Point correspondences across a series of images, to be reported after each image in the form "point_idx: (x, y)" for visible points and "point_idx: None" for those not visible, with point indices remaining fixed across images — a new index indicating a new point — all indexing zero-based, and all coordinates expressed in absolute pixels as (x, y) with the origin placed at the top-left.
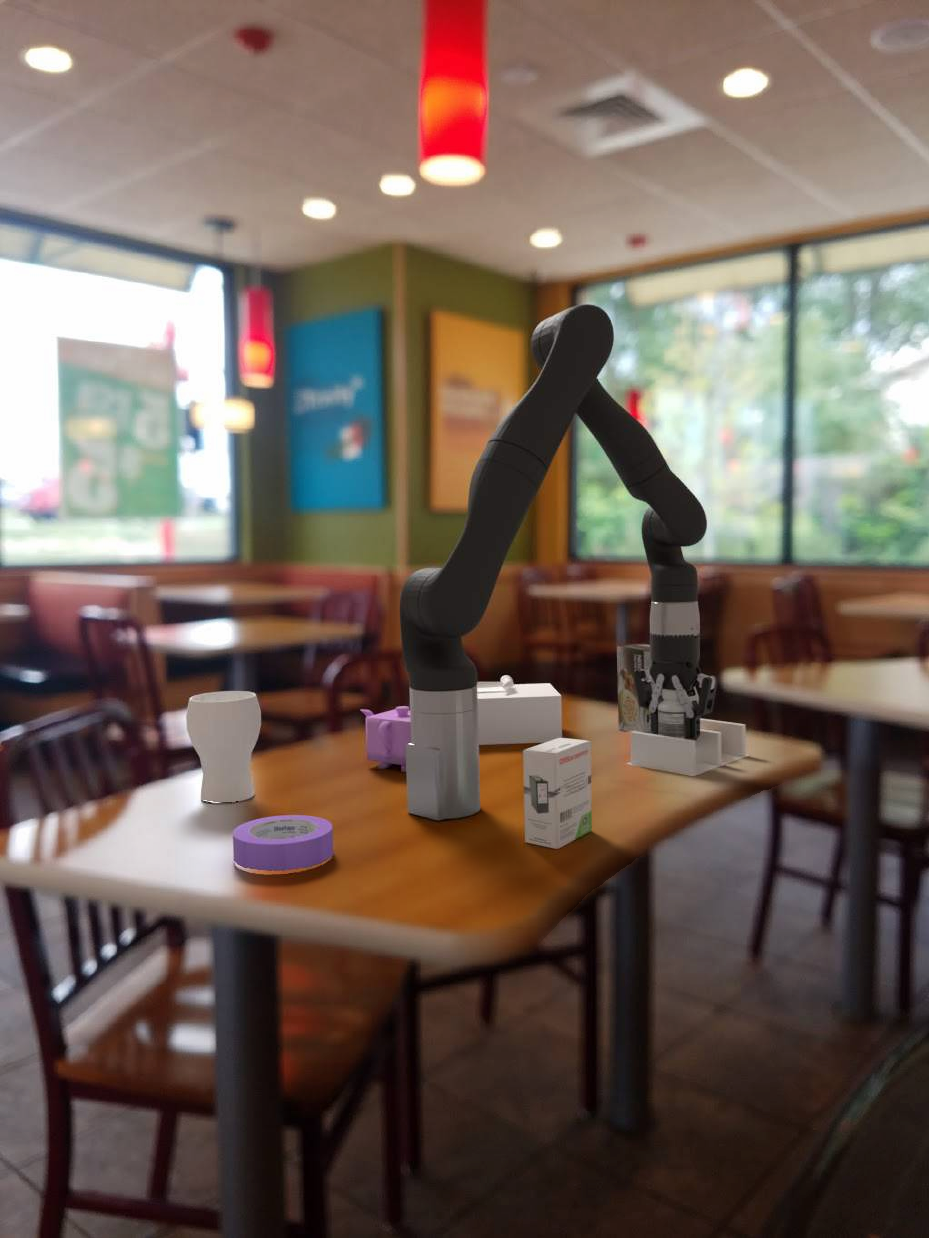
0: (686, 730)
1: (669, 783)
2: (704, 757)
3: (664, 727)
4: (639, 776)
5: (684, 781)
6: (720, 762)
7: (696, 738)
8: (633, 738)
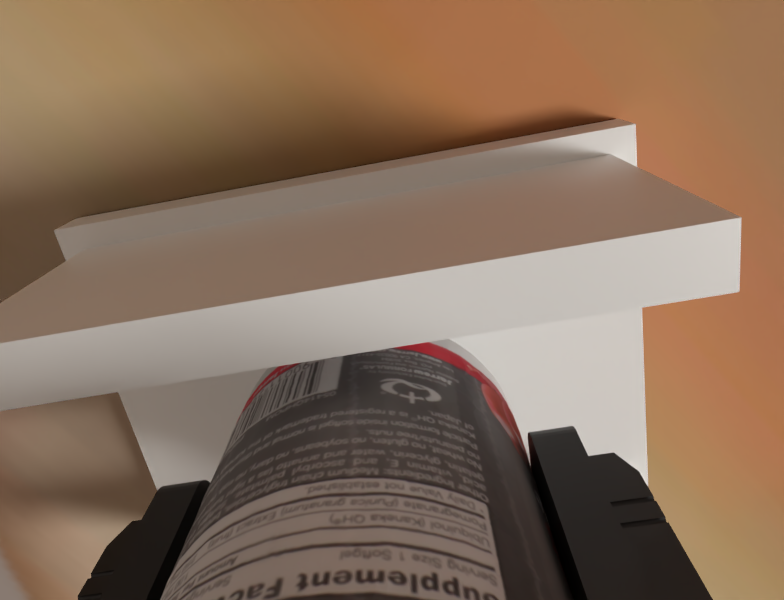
0: (165, 549)
1: (144, 78)
2: None
3: (349, 443)
4: (423, 55)
5: (132, 199)
6: None
7: None
8: (664, 207)
